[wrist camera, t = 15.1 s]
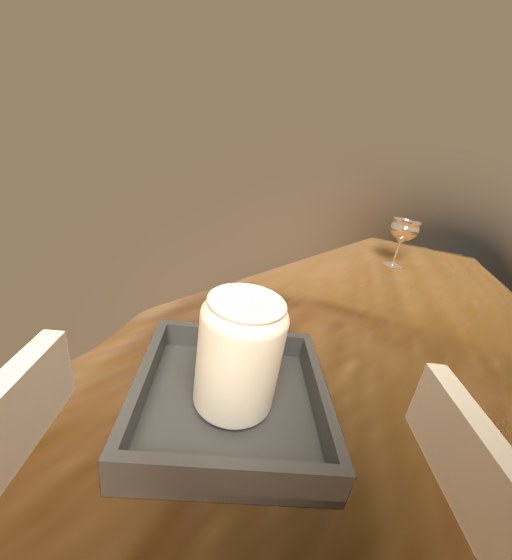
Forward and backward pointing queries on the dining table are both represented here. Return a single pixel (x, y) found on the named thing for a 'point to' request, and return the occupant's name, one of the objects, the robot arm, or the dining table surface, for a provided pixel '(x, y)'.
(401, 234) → the wineglass
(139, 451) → the bin
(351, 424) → the dining table surface
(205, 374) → the beverage can
